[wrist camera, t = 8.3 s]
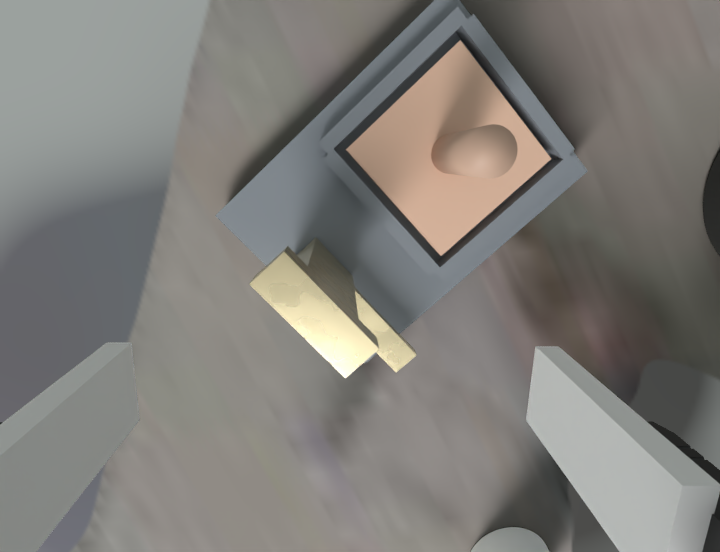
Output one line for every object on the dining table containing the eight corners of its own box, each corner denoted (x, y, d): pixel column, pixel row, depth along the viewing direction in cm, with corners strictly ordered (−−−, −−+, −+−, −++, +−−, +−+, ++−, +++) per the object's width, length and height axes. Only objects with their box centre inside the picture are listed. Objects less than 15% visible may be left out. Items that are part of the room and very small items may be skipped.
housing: (438, 1, 32) (454, -24, 28) (567, 170, 36) (599, 171, 31) (225, 211, 35) (209, 218, 31) (363, 348, 39) (366, 372, 34)
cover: (454, 45, 30) (509, -8, 21) (541, 158, 32) (628, 158, 23) (345, 149, 32) (349, 145, 22) (436, 252, 34) (476, 288, 24)
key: (412, 339, 35) (445, 417, 25) (390, 359, 36) (412, 443, 25) (301, 221, 32) (284, 251, 22) (277, 244, 33) (249, 283, 22)
